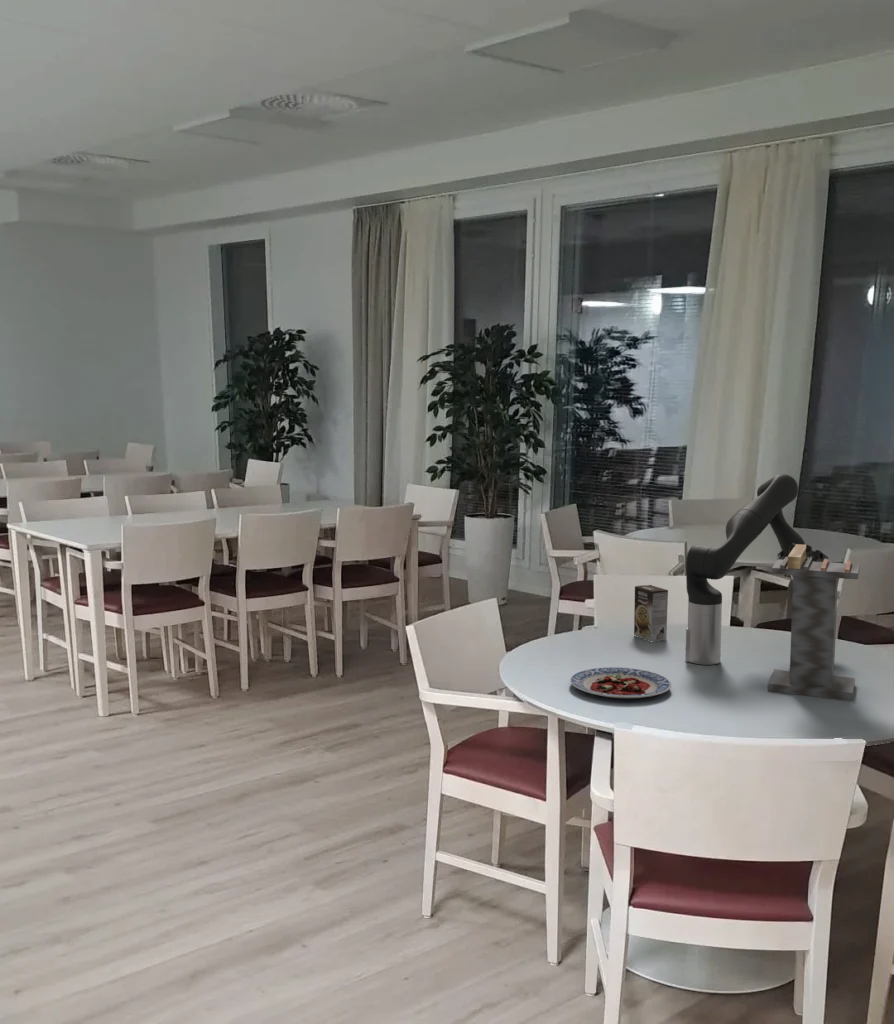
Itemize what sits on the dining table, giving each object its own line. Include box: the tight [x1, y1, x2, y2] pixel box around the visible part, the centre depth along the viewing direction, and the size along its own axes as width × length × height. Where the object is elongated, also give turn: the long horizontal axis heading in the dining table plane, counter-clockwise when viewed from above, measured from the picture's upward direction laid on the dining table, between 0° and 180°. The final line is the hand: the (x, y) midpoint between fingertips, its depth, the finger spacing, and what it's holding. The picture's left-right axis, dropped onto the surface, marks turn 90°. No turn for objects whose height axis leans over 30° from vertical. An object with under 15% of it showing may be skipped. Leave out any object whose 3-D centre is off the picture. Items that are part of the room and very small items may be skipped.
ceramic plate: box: [570, 666, 672, 700], centre depth 247 cm, size 26×26×3 cm
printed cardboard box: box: [633, 584, 669, 642], centre depth 297 cm, size 9×6×16 cm
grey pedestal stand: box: [767, 557, 861, 702], centre depth 244 cm, size 20×14×33 cm
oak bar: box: [787, 544, 807, 569], centre depth 248 cm, size 3×22×3 cm, turn 155°
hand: (800, 547), depth 253 cm, fingers closed on oak bar, 3 cm apart
